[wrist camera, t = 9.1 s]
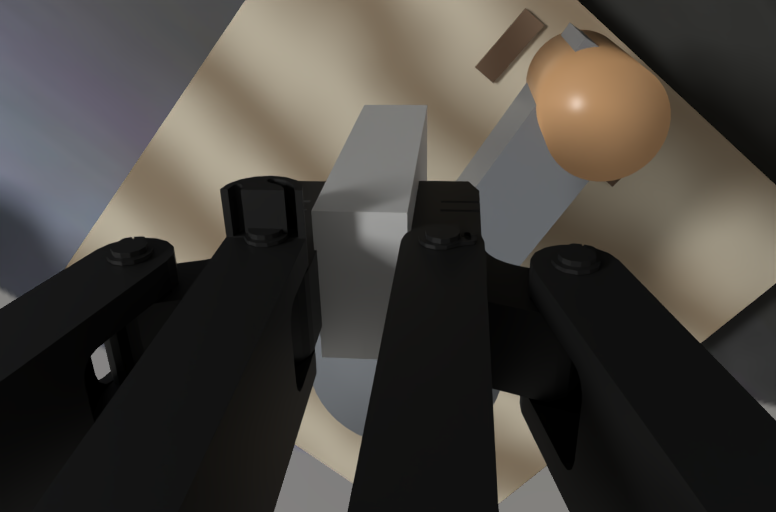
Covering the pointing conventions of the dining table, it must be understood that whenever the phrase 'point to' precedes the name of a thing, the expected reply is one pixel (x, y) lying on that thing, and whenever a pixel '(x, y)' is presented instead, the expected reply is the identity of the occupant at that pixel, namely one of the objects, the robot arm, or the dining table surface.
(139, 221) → the base board
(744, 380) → the dining table surface
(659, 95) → the uneven dumbbell rattle
